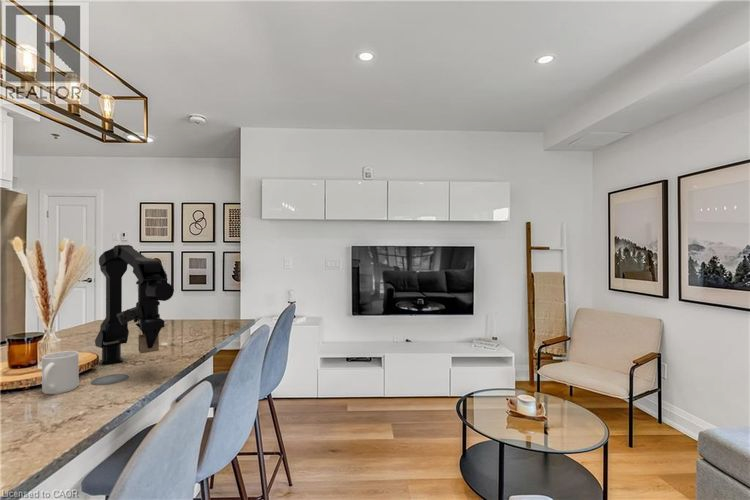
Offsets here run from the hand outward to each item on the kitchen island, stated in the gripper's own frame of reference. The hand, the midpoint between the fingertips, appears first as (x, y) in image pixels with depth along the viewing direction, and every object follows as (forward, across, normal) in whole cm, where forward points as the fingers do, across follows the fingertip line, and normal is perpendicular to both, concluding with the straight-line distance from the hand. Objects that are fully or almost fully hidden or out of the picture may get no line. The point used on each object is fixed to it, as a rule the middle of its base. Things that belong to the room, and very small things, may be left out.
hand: (148, 346), depth 125 cm
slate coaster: (+9, -3, -10) cm, 14 cm away
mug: (+10, 0, -23) cm, 25 cm away
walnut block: (+1, 0, 0) cm, 1 cm away
